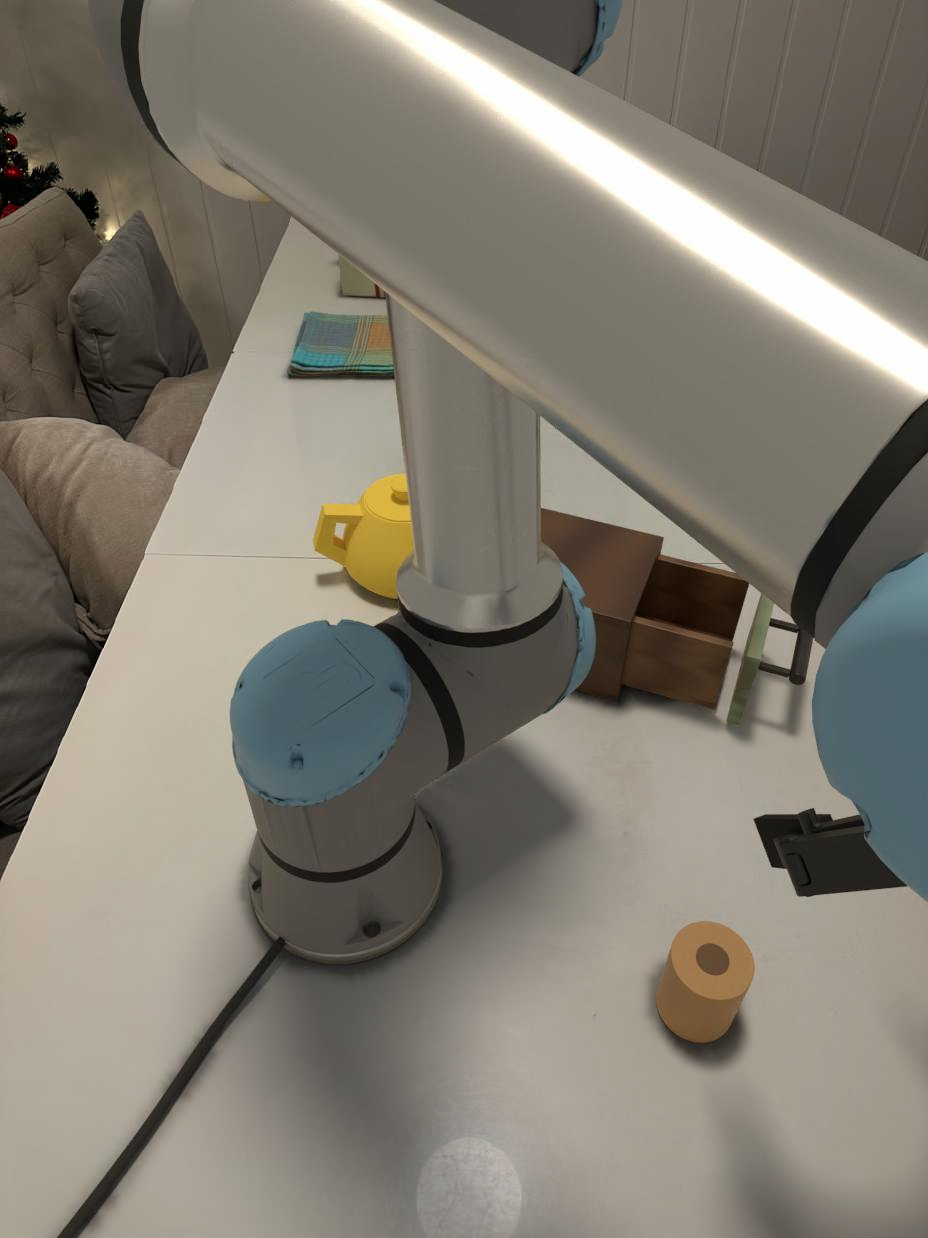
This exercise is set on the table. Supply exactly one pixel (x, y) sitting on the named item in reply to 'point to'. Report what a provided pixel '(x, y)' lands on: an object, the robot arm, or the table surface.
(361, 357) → the dish towel
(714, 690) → the drawer
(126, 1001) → the table surface
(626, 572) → the cabinet
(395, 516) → the teapot
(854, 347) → the robot arm
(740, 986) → the toilet paper roll
